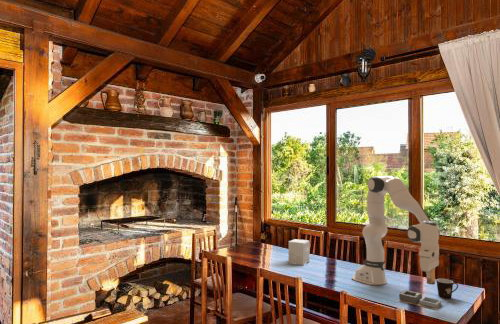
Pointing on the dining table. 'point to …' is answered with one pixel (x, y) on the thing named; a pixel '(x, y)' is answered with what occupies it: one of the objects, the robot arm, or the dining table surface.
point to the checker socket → (409, 298)
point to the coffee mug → (445, 288)
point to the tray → (430, 302)
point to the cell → (432, 279)
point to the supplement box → (298, 251)
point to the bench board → (419, 304)
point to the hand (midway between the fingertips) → (430, 276)
